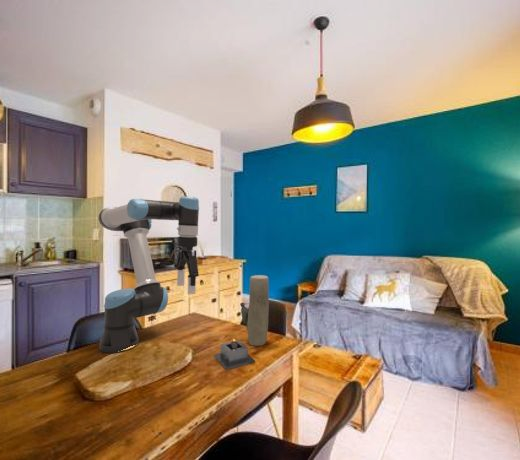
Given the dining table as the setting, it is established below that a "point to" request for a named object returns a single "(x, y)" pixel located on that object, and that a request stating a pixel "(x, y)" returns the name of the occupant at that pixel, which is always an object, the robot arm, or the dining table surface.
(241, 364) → the post
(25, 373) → the dining table surface
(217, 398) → the dining table surface
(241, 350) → the grey square hollow block
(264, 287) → the decorative sculpture
